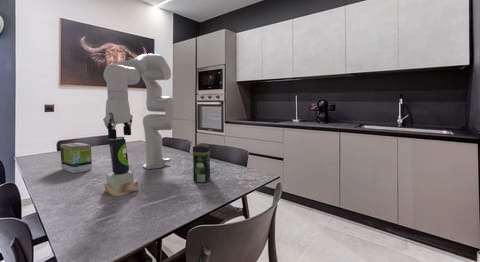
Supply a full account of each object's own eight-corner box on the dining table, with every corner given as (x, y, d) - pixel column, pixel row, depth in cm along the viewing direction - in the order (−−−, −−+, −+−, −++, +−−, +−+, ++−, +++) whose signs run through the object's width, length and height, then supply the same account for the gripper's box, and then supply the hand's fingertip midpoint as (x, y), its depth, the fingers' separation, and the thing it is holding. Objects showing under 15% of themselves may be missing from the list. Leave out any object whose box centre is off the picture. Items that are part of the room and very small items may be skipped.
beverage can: (110, 173, 100) (105, 138, 97) (125, 169, 104) (120, 136, 102) (117, 175, 96) (112, 140, 93) (132, 171, 101) (127, 137, 98)
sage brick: (126, 177, 106) (125, 168, 105) (133, 181, 100) (132, 172, 100) (107, 182, 100) (105, 173, 99) (113, 187, 95) (112, 177, 94)
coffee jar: (196, 177, 122) (196, 141, 120) (211, 177, 121) (211, 142, 119) (191, 183, 112) (190, 145, 110) (207, 183, 112) (207, 145, 110)
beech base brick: (130, 185, 108) (128, 175, 107) (139, 191, 101) (138, 180, 100) (105, 193, 101) (104, 182, 100) (114, 199, 94) (112, 188, 93)
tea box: (93, 169, 134) (91, 144, 132) (73, 173, 125) (71, 146, 124) (80, 165, 142) (78, 141, 140) (60, 169, 134) (59, 143, 132)
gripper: (122, 96, 105) (125, 133, 108) (93, 95, 88) (97, 140, 91) (138, 96, 104) (140, 134, 107) (112, 95, 87) (114, 140, 90)
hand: (120, 136), depth 99 cm, fingers open, 9 cm apart
